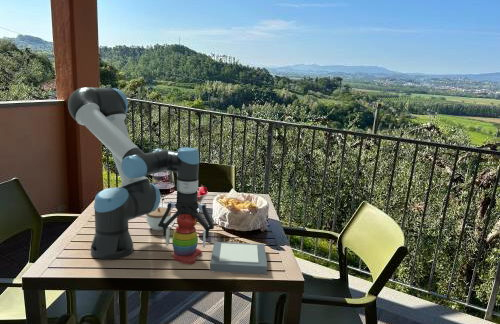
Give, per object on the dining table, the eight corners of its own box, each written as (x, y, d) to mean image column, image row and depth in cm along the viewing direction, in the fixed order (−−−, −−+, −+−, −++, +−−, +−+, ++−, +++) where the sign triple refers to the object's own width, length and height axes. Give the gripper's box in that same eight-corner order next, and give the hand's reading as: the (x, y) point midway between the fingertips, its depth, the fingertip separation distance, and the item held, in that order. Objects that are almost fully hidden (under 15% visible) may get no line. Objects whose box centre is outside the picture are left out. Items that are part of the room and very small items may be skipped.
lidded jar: (150, 222, 169) (150, 203, 167) (173, 224, 169) (173, 204, 167) (142, 231, 158) (142, 211, 156) (167, 233, 158) (167, 212, 156)
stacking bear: (193, 265, 133) (194, 219, 129) (167, 261, 134) (167, 215, 131) (203, 252, 143) (204, 209, 139) (178, 248, 145) (179, 205, 141)
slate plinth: (209, 271, 129) (210, 262, 128) (213, 248, 147) (214, 240, 146) (266, 274, 130) (267, 265, 129) (263, 251, 147) (264, 243, 147)
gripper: (150, 191, 129) (149, 247, 134) (221, 195, 130) (218, 251, 134) (155, 185, 136) (154, 239, 141) (222, 189, 137) (219, 242, 142)
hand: (185, 245), depth 138 cm, fingers open, 13 cm apart
